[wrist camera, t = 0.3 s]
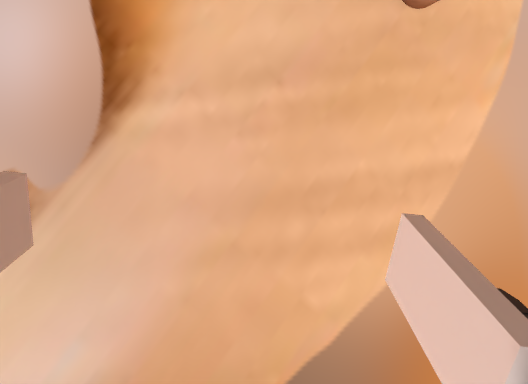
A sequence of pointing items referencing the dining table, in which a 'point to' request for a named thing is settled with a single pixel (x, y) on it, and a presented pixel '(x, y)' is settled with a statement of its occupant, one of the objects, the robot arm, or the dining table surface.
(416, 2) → the short pin
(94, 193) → the dining table surface
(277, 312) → the dining table surface
